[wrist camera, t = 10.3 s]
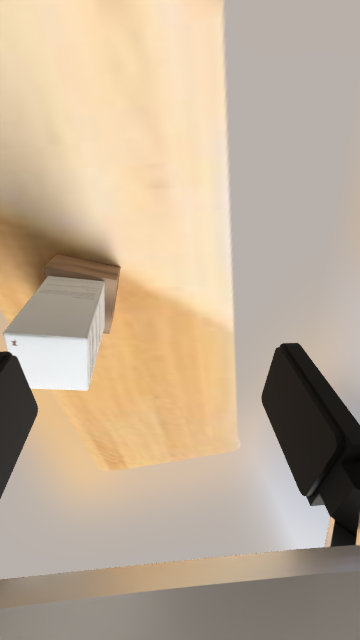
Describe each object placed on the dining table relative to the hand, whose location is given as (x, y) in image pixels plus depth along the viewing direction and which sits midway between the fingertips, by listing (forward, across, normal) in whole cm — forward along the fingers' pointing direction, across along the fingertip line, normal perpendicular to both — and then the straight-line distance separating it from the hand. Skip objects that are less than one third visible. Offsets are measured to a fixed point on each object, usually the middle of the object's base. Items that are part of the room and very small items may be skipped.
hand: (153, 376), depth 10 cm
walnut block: (+30, +10, +11) cm, 34 cm away
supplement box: (+26, +10, +11) cm, 30 cm away
